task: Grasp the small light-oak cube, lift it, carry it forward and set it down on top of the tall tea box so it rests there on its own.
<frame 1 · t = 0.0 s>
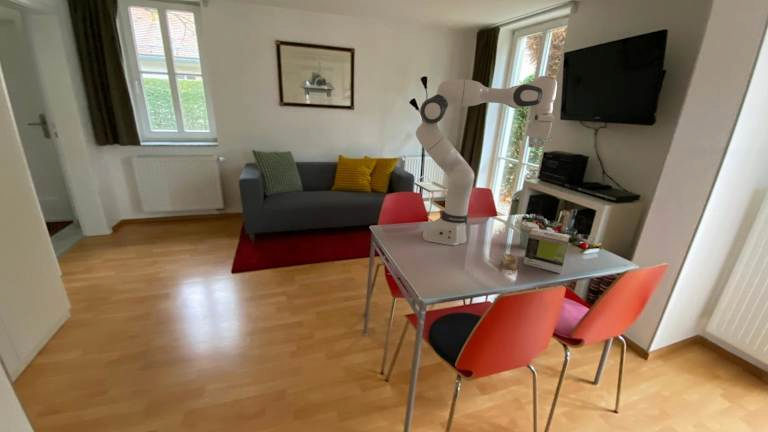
hand: (533, 148, 145), 48 cm above the table, fingers open, 8 cm apart
tea box: (542, 265, 141), on the table
medicine box: (547, 248, 159), on the table
coffee cup: (525, 247, 159), on the table
oak block: (508, 267, 137), on the table
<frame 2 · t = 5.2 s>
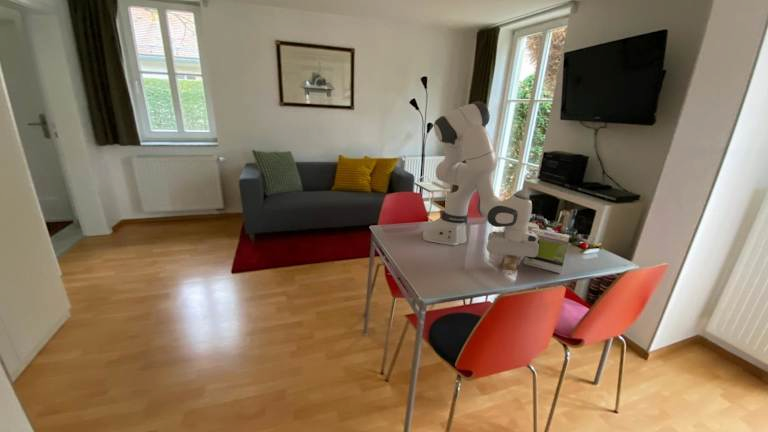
hand: (509, 263, 136), 2 cm above the table, fingers closed on oak block, 5 cm apart
oak block: (508, 267, 137), on the table, touching gripper
everything else where it was.
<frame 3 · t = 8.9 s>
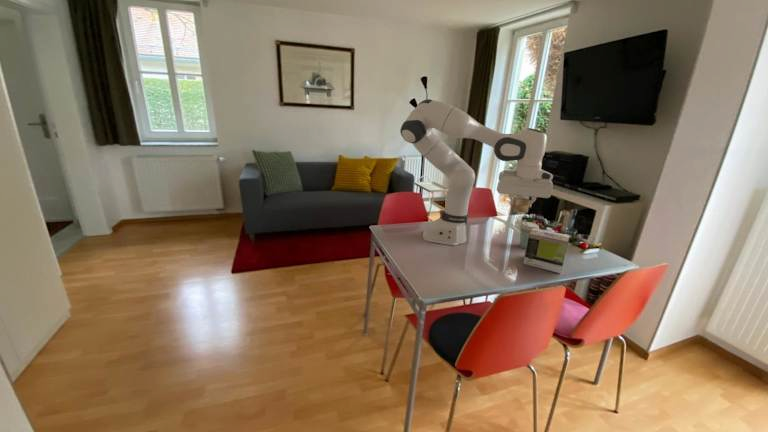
hand: (520, 206, 128), 27 cm above the table, fingers closed on oak block, 5 cm apart
oak block: (519, 210, 129), point 26 cm above the table, touching gripper
everything else where it was.
when the fingers open (18 cm above the table, at t = 12.7 s): oak block drops 1 cm, resting on tea box.
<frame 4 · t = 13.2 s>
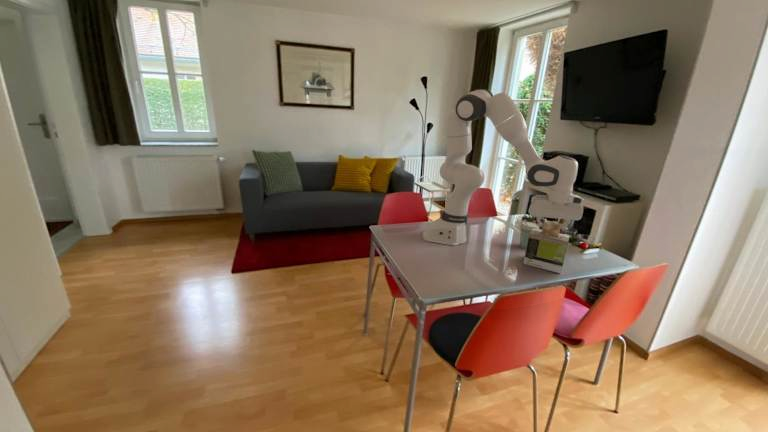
hand: (551, 227, 135), 18 cm above the table, fingers open, 8 cm apart
tea box: (542, 265, 141), on the table, touching oak block
oak block: (549, 234, 136), point 15 cm above the table, touching tea box
everything else where it was.
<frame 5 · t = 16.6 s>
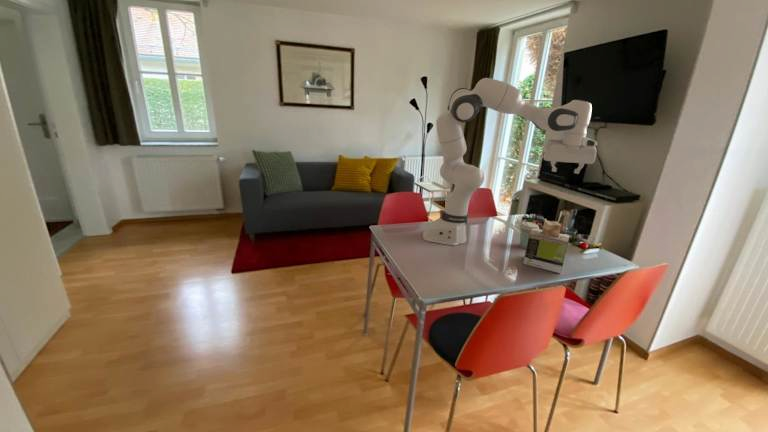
hand: (565, 172, 141), 39 cm above the table, fingers open, 8 cm apart
nothing on the table moved.
at the end: oak block inside the target area on the tea box (0.2 cm from its centre), point 15.0 cm above the tea box's base; oak block tilted 0°; the gripper is holding nothing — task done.
